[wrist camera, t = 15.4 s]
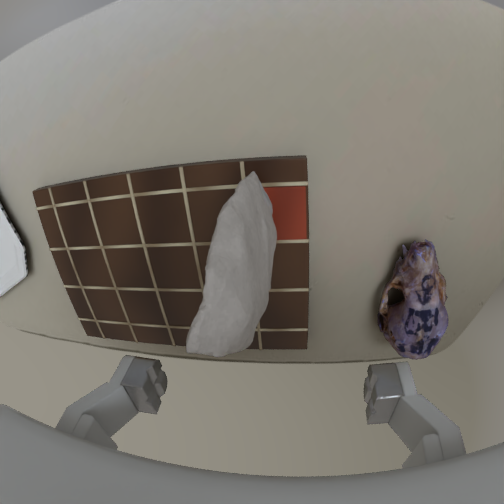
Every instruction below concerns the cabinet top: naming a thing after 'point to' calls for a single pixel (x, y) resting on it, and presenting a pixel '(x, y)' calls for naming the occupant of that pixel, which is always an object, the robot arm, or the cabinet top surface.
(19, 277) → the plate
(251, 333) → the stone tool
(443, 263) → the cabinet top surface
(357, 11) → the cabinet top surface
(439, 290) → the skull
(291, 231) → the board
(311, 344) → the cabinet top surface
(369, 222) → the cabinet top surface
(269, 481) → the robot arm
